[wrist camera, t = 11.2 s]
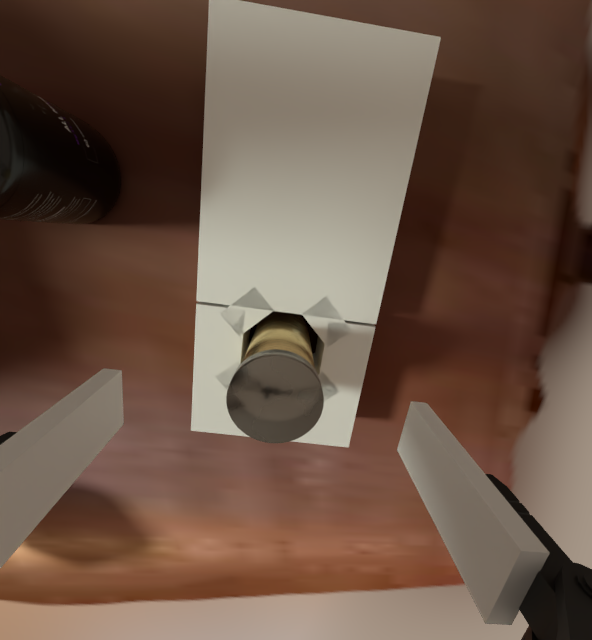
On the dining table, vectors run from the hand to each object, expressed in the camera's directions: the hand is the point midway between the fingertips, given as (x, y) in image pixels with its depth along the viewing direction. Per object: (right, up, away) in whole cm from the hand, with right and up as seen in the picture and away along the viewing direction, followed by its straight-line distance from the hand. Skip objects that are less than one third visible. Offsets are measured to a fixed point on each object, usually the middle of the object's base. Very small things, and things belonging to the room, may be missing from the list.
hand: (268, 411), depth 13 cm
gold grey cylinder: (0, +3, +11) cm, 11 cm away
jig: (+1, +9, +9) cm, 12 cm away
